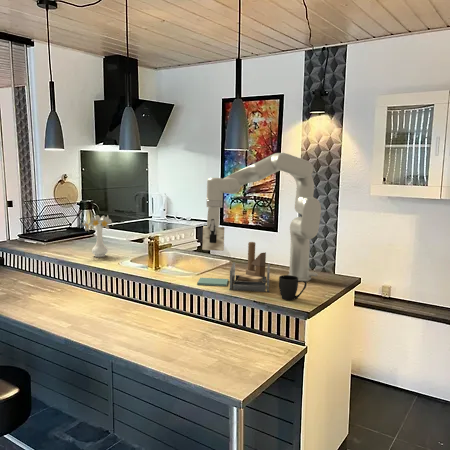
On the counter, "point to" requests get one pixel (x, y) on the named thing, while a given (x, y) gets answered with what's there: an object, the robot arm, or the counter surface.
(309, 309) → the counter surface
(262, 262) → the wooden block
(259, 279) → the offcut stack
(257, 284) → the rack
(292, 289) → the mug
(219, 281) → the mat
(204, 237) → the birch sheet
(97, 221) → the flower vase
